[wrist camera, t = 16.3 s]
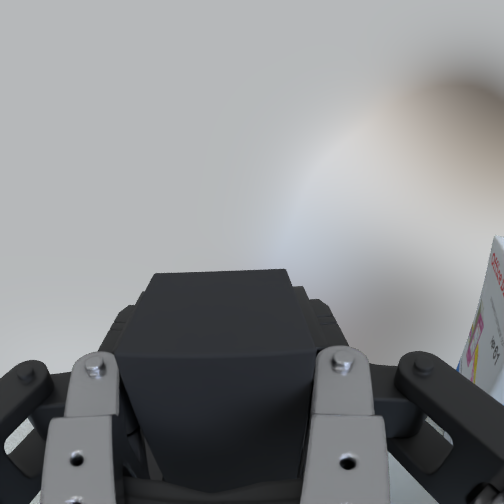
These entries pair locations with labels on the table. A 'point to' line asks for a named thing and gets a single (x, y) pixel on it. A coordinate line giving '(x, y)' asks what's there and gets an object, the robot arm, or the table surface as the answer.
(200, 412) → the block
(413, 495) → the table surface
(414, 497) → the table surface
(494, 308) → the ink box
